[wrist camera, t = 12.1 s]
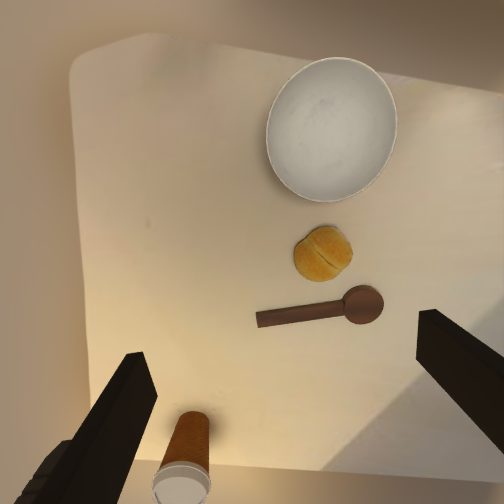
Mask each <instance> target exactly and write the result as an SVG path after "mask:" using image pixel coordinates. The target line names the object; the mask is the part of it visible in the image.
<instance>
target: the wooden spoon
mask: <svg viewBox="0 0 504 504" xmlns="http://www.w3.org/2000/svg"><path fill="white" fill-rule="evenodd" d="M383 307H384V301H383V298H382V296H381V295H380V294H379V293H378V292H377V291H376V290H375V289H373V288H372V287H369V286H357V287H354V288H352V289H350V290H349V291H348V292H347V293H346V294H345V295H344V297H343V299H342V300H337V301H331V302H324V303H317V304H310V305H303V306H296V307H290V308H283V309H276V310H269V311H262V312H256V319H257V325H258V328H261V327H268V326H275V325H282V324H289V323H295V322H302V321H309V320H316V319H323V318H330V317H337V316H344V315H345V316H346V318H347V319H348V320H349V321H350V322H352V323H355V324H367V323H370V322H372V321H374V320H375V319H377V318H378V317H379V315H380V314H381V312H382V310H383Z"/></svg>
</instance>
